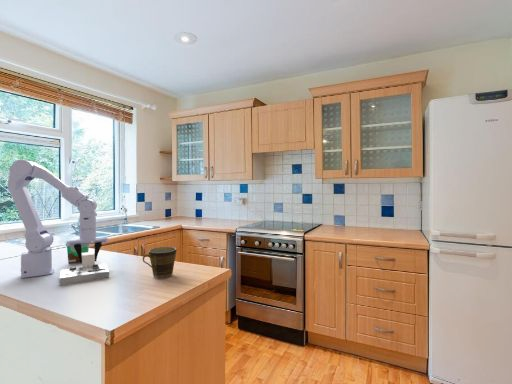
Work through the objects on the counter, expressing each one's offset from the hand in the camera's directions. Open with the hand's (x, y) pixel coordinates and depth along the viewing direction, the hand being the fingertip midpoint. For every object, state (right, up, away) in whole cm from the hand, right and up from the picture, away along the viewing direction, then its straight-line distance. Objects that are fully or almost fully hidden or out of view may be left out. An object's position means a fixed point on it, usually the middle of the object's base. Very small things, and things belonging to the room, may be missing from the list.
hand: (88, 261), depth 116 cm
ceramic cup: (+32, -3, -10) cm, 34 cm away
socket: (+5, -3, -10) cm, 12 cm away
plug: (0, -3, 0) cm, 3 cm away
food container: (-11, -3, +14) cm, 18 cm away
